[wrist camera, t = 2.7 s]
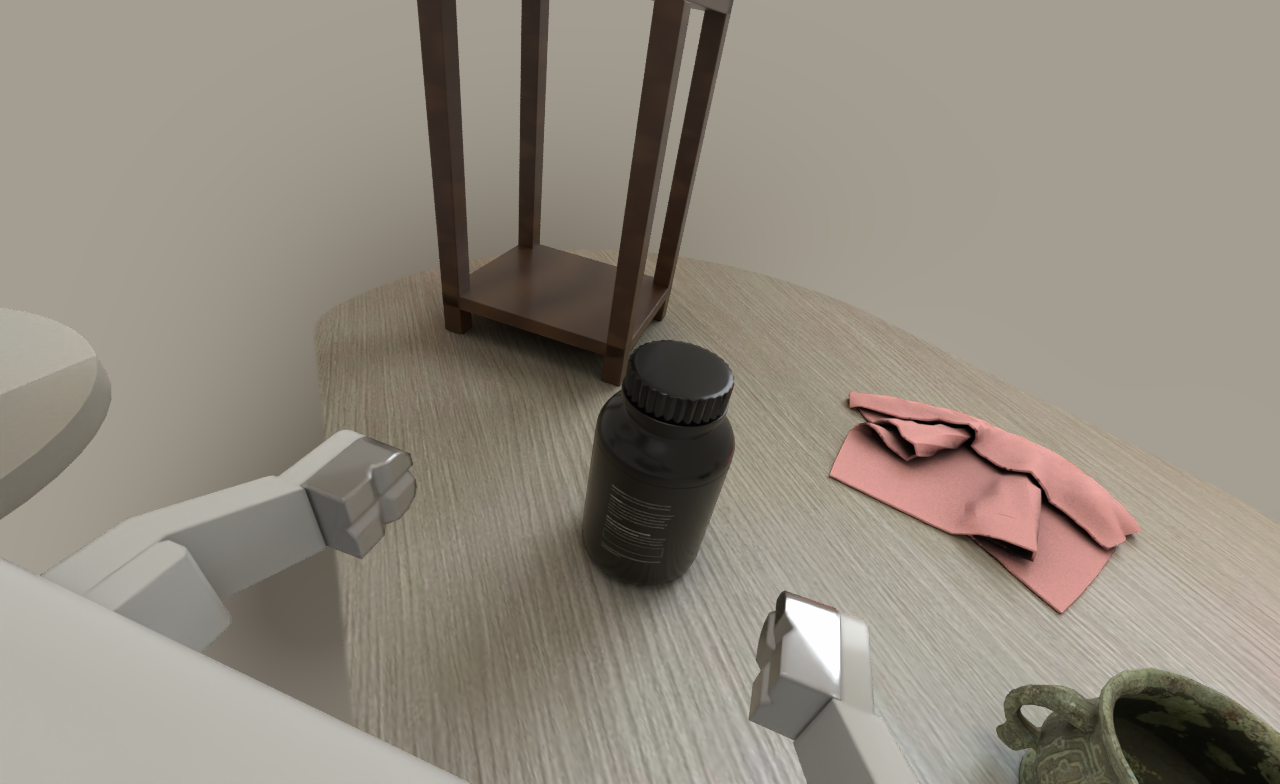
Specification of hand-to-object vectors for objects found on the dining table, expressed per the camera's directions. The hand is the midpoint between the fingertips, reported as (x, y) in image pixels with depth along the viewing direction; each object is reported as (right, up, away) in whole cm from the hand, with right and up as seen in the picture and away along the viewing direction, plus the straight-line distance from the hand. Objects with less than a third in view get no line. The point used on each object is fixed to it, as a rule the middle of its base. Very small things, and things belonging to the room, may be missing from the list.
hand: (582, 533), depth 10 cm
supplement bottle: (+1, -6, +19) cm, 20 cm away
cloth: (+26, -3, +28) cm, 38 cm away
